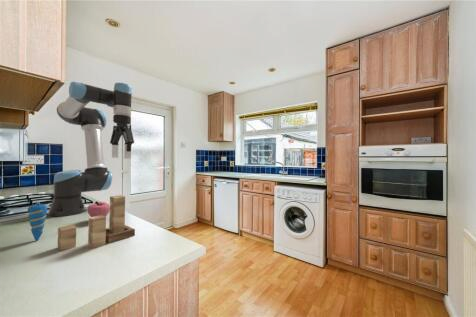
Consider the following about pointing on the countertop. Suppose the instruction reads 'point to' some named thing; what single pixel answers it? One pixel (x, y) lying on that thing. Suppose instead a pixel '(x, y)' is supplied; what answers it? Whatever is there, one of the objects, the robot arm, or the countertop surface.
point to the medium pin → (97, 231)
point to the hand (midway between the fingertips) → (121, 158)
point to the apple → (98, 209)
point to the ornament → (37, 219)
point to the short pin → (66, 237)
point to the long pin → (117, 214)
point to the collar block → (119, 234)
